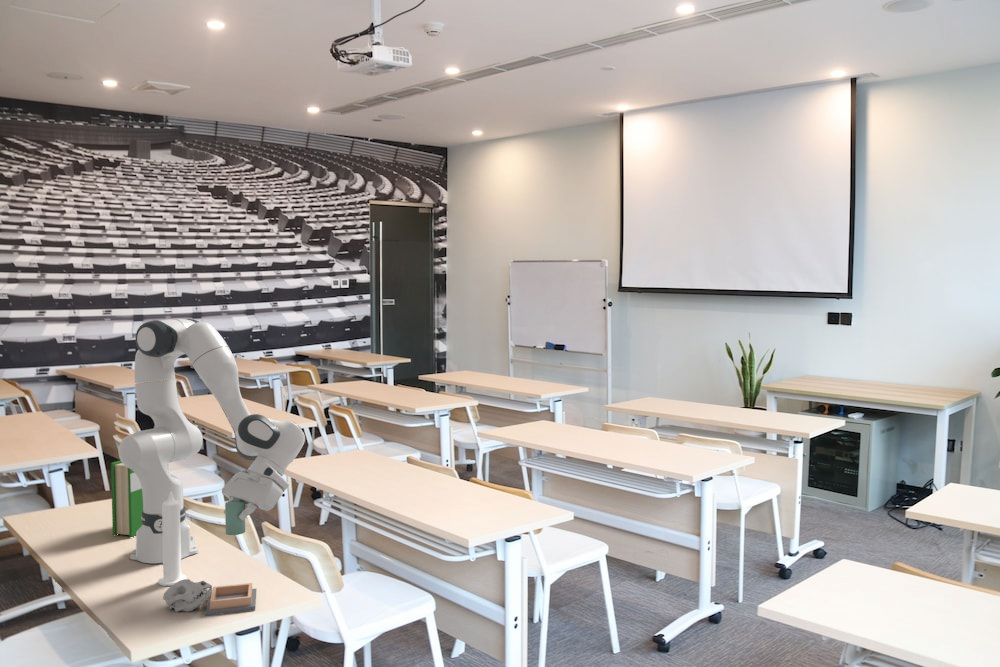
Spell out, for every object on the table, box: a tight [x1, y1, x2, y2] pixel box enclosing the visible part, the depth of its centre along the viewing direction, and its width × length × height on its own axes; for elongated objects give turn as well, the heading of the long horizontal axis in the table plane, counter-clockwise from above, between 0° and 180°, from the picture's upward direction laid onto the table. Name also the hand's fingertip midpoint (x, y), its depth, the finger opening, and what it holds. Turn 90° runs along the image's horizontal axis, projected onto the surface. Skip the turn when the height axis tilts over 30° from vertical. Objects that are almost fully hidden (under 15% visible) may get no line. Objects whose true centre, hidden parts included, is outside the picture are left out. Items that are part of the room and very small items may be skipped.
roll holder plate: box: [204, 582, 257, 616], centre depth 190 cm, size 12×12×3 cm
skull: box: [162, 578, 213, 613], centre depth 187 cm, size 8×9×12 cm
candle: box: [158, 491, 187, 587], centre depth 204 cm, size 7×7×25 cm
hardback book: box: [110, 459, 169, 538], centre depth 249 cm, size 18×7×24 cm, turn 165°
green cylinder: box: [224, 500, 246, 536], centre depth 201 cm, size 5×5×8 cm
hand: (233, 516), depth 200 cm, fingers closed on green cylinder, 5 cm apart
